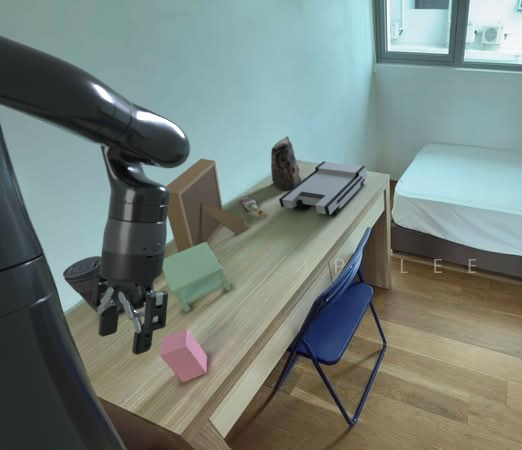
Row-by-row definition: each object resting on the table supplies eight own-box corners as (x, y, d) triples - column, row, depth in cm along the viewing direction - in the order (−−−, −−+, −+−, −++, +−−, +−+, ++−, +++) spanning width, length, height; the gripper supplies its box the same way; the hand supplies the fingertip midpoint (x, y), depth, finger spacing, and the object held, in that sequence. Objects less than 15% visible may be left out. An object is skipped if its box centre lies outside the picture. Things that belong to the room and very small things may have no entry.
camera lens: (138, 291, 87) (107, 251, 78) (134, 311, 81) (100, 270, 72) (103, 303, 84) (66, 262, 75) (96, 324, 78) (55, 282, 69)
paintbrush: (238, 202, 126) (260, 220, 114) (236, 196, 125) (258, 214, 113) (247, 198, 128) (269, 216, 117) (245, 193, 127) (267, 210, 115)
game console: (283, 214, 117) (277, 196, 112) (326, 178, 142) (323, 161, 137) (331, 223, 111) (327, 204, 106) (367, 183, 136) (365, 166, 131)
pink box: (206, 373, 66) (186, 346, 61) (182, 382, 65) (159, 355, 59) (207, 356, 70) (187, 328, 64) (184, 364, 68) (162, 337, 62)
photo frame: (181, 261, 97) (139, 191, 83) (213, 222, 115) (183, 159, 100) (228, 258, 97) (194, 189, 83) (253, 220, 115) (229, 157, 101)
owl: (299, 175, 145) (289, 133, 133) (308, 185, 136) (298, 142, 124) (272, 183, 140) (259, 140, 128) (279, 194, 131) (266, 149, 119)
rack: (232, 288, 86) (222, 268, 82) (185, 312, 80) (170, 291, 75) (215, 261, 96) (205, 241, 92) (172, 280, 90) (159, 260, 85)
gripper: (77, 237, 47) (67, 337, 49) (138, 260, 43) (125, 369, 44) (133, 235, 54) (123, 322, 56) (190, 254, 50) (177, 348, 51)
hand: (124, 343), depth 50 cm, fingers open, 8 cm apart
